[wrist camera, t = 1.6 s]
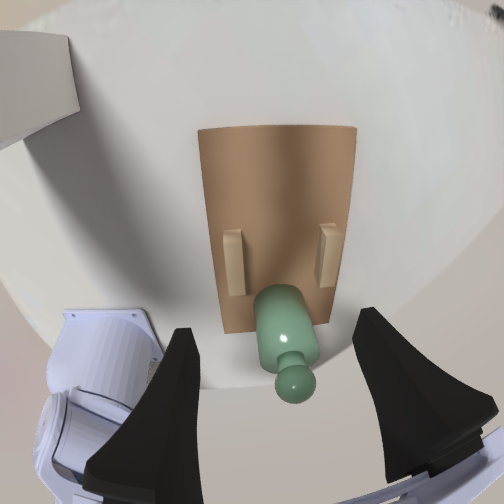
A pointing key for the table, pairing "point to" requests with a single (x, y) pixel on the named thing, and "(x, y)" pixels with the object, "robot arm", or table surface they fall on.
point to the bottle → (286, 341)
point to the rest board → (276, 213)
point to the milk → (34, 83)
